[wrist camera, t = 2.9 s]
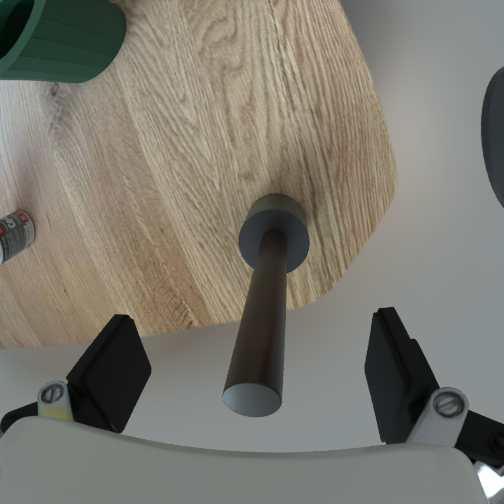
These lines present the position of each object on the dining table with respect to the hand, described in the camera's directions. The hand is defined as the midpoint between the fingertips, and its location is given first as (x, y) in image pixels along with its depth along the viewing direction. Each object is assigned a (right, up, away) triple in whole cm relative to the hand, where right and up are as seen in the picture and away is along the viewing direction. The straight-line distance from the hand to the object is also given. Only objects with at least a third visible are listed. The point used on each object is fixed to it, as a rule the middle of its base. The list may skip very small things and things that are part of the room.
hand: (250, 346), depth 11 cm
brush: (+2, +6, +14) cm, 15 cm away
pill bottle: (-28, +7, +18) cm, 33 cm away
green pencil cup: (-16, +24, +9) cm, 30 cm away
